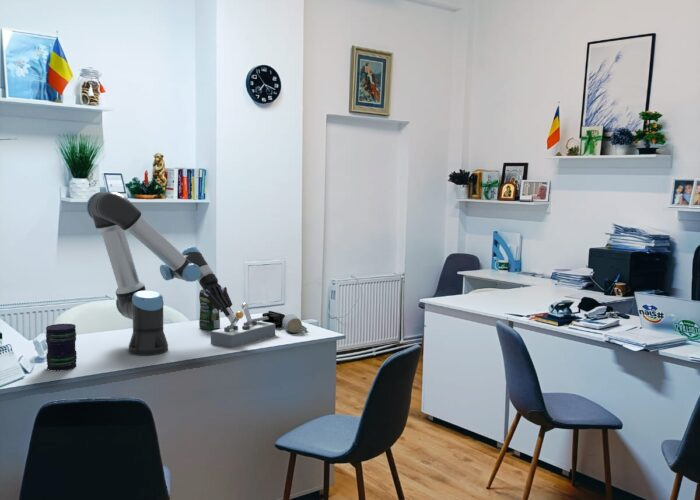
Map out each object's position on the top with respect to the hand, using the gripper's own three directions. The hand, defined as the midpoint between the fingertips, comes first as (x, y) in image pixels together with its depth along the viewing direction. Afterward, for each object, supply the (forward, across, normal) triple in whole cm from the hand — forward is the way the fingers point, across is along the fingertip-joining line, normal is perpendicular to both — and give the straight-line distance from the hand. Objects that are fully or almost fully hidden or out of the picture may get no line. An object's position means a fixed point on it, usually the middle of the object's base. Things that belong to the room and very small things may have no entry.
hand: (234, 321), depth 264 cm
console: (+6, -7, -7) cm, 12 cm away
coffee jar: (-12, -14, -27) cm, 32 cm away
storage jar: (-11, +64, -24) cm, 69 cm away
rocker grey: (+2, -18, -2) cm, 18 cm away
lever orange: (+1, +1, -2) cm, 3 cm away
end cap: (+3, -35, -12) cm, 37 cm away
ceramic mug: (+13, -32, -1) cm, 35 cm away
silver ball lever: (+2, -11, -2) cm, 11 cm away
